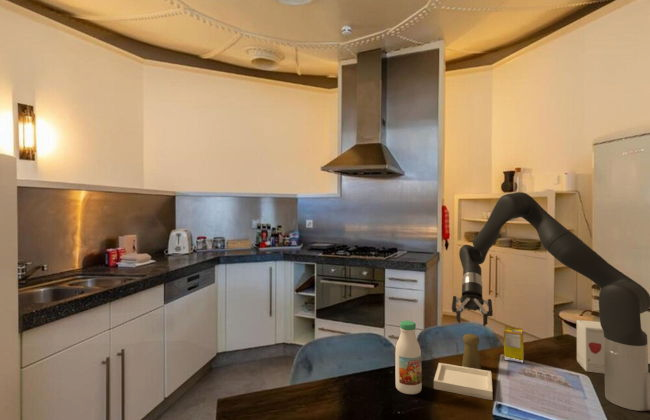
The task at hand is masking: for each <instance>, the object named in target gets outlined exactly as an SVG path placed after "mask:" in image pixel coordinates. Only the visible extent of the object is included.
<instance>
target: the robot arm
mask: <svg viewBox="0 0 650 420" xmlns="http://www.w3.org/2000/svg"><path fill="white" fill-rule="evenodd" d="M519 218H522V219H524V220H525V221H526V222H528V223H529V224H530V225H531V226H532V227H533V228H534V229H535V231H536V232H537V236H538V238H539V241H540V243H541V245H542V246H543V248H544V249H545V250H546V251H547V252H548V253H549V254H550V255H551V256H553V257H554V258H555V260H557V261H558V262H559V263H561V264H562V265H564V266H566V267H568V268H569V269H571V270H573V271H575V272H576V273H578V274H581V275H582V276H584V277H586V278H587V279H589V280H590V281H592V283H594V284H595V285H596V286H597V287H599V288H600V289H601V290H600V292H599V293H598V310H599V311H598V312H599V322H600V324H601V327H602V329H603V332H604V367H605V374H604V396H605V399H606V400H607V401H609V402H610V403H612V404H613V405H616V406H617V407H621V408H623V409H627V410H632V411H638V412H639V411H640V412H643V411H644V412H645V411H650V371H649V355H648V354H649V353H648V350H649V348H648V346H649V345H648V334H647V333H646V332H645V331H644V330H643V329H642V323H641V322H642V321H641V320H642V319H641V314H644V313H646V312H647V311H649V309H650V293H649V292H648V290H646V289H645V288H644V286H642V285H641V284H640V283H638V282H637V281H635V280H634V279H632V278H630V276H628V275H626V274H624V273H623V272H622V271H620V270H618V269H617V268H616V267H614V265H611V264H610V263H609V262H608V261H607V260H605V258H603V257H602V256H601V255H599V254H598V252H596V251H594V250H593V248H591V247H590V246H589V245H588V244H587V243H585V242H584V241H583V240H582V239H581V238H579V237H578V236H577V235H576V234H574V233H573V232H572V231H571V230H569V229H567V228H566V227H565V226H564V225H563V224H561V223H560V222H559V221H558V220H556V218H554V217H553V216H552V215H550V214H549V213H548V212H547V211H546V210H545V209H544V207H542V206H541V205H540V204H539V203H538V201H536V200H535V199H534V198H533V197H532V196H531V195H530V194H528V193H526V192H521V191H518V192H512V193H506V194H504V195H502V196H500V197H499V199H498V200H497V201H496V203H495V205H494V208H492V211H491V213H490V215H489V217H488V219H487V221H486V222H485V224H484V225H483V227H482V228H481V230H479V232H478V233H477V235H476V236H475V237H474V238H473V240H472V245H470V244H464V245H462V246H461V247H460V248H459V251H458V254H459V261H460V263H461V266H462V281H461V297H457V295H453V296H452V303H451V312H452V313H455V314H456V315H455V316H456V318H455V319H456V321H457V322H458V323H459V324H461V317H462V313H463V312H465V310H467V311H478V312H479V313H480V314H481V315H482V320H483V321H482V322H483V323H482V325H483V327H486V325H488V317H493V316H494V315H493V314H494V312H493V311H494V309H493V303H492V302H493V301H492V299H491V298H488V299H483V287H484V286H483V279H482V278H483V277H482V267H481V266H480V265H483V263H484V262H485V260H486V259H487V255H488V252H489V250H490V249H491V248H492V247H493V246H494V244H495V243H497V240H499V237H500V234H501V230H502V227H504V225H505V224H506V223H508V222H509V221H510V220H513V219H519ZM459 303H461V304H460V305H459V306H458V307H457V304H459ZM484 304H485V306H486V307H488V311H487V310H486V309H485V308H484Z"/></svg>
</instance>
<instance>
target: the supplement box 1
mask: <svg viewBox="0 0 650 420" xmlns="http://www.w3.org/2000/svg"><path fill="white" fill-rule="evenodd" d="M503 349H504V350H503V354H504V355H503V357H504V356H506V357H510V358H515V359H519V360H523V361H524V360H525V359H524V358H525V356H524V355H525V352H524V351H525V350H524V328H520V327H514V326H505V327H504V329H503Z"/></svg>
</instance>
